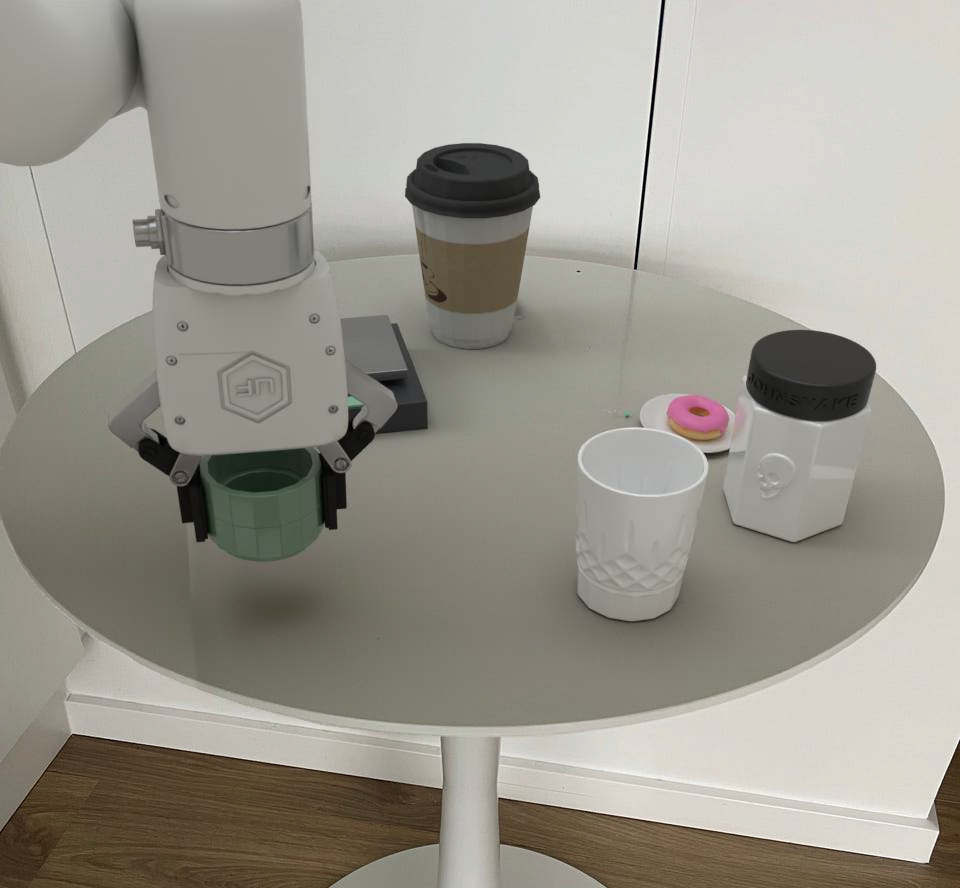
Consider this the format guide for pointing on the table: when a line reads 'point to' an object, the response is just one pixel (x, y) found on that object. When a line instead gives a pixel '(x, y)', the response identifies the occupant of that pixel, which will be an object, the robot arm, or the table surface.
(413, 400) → the scale
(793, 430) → the jar
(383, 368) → the scale platform
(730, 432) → the donut
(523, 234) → the coffee cup
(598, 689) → the table surface
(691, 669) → the table surface
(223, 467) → the bowl
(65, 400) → the table surface
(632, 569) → the white cup
